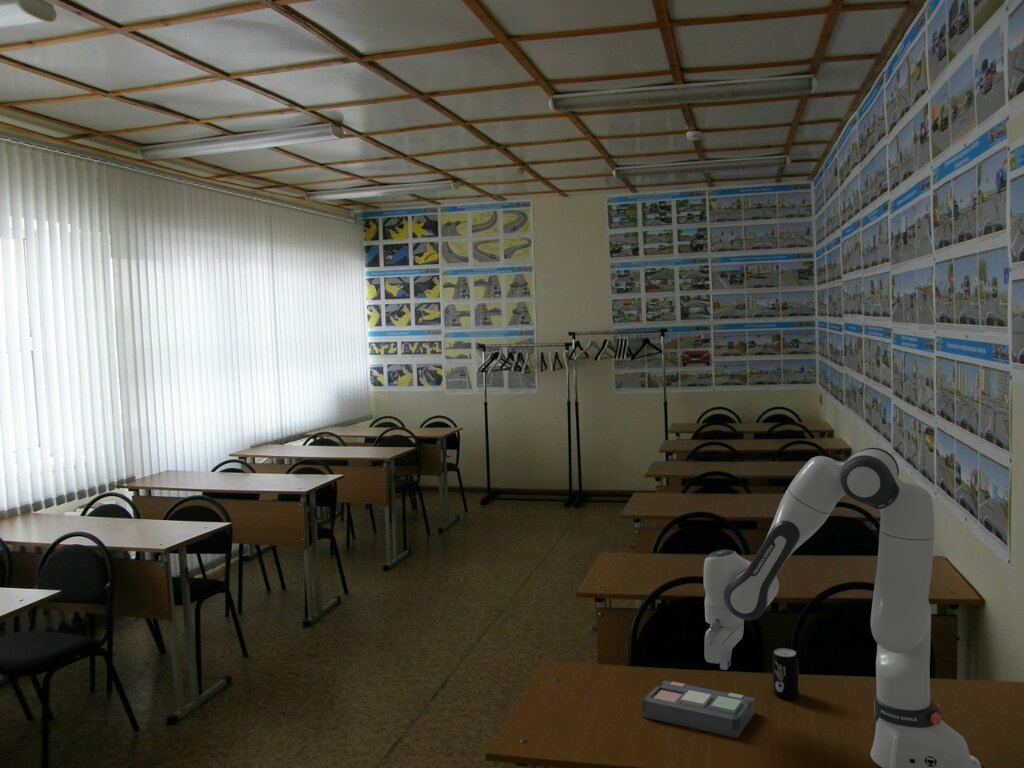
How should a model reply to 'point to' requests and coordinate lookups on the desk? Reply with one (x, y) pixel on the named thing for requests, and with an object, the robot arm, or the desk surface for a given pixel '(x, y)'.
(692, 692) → the ivory key
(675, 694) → the rose key
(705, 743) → the desk surface
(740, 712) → the keypad
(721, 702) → the sage key
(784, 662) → the beverage can
